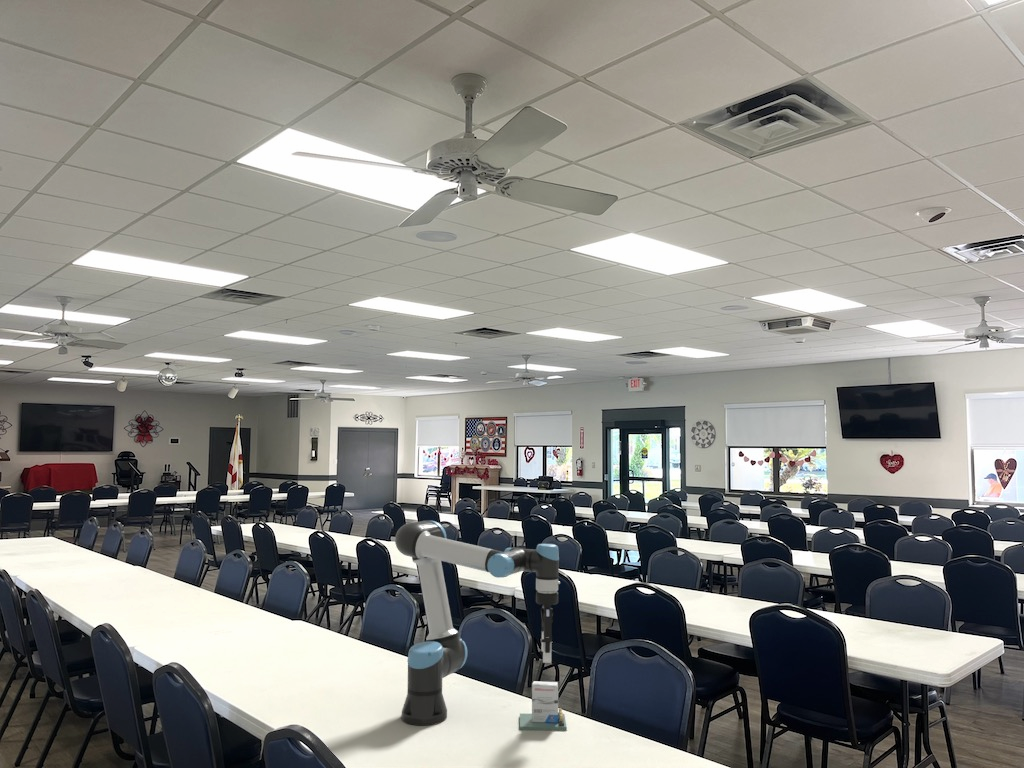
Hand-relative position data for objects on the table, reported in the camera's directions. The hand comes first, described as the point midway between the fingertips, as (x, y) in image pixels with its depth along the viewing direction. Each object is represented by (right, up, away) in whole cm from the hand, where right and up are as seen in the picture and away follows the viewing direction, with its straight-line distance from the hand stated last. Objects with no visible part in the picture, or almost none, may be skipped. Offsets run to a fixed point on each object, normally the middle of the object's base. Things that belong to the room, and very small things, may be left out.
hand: (546, 656), depth 239 cm
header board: (-1, -21, -2) cm, 21 cm away
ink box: (0, -20, -2) cm, 20 cm away
